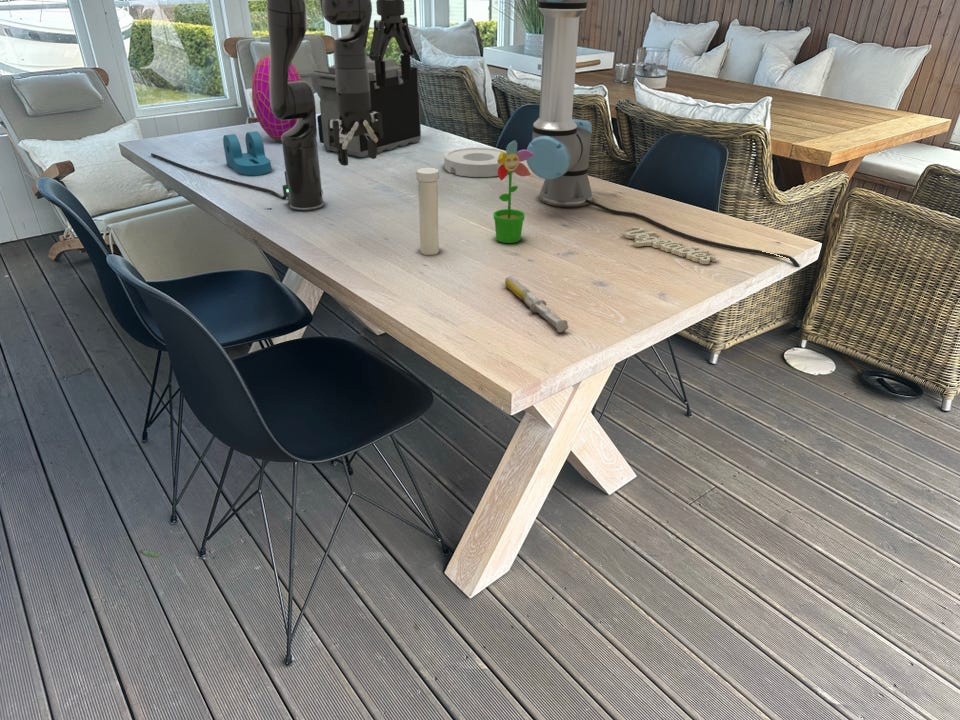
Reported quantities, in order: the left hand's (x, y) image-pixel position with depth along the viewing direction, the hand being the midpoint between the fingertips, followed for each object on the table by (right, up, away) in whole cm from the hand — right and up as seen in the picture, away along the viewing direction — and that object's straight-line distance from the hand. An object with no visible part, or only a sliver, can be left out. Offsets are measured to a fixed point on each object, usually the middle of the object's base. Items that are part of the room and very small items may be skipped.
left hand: (358, 161), depth 162 cm
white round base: (+28, +18, +71) cm, 79 cm away
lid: (+17, -4, -5) cm, 18 cm away
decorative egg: (-47, +38, +103) cm, 119 cm away
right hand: (+4, +32, +33) cm, 46 cm away
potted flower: (+36, -16, +13) cm, 42 cm away
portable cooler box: (-12, +34, +96) cm, 103 cm away
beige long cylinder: (+17, -21, +5) cm, 27 cm away
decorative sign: (+75, -19, +9) cm, 78 cm away
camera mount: (-48, +17, +67) cm, 84 cm away
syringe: (+40, -36, -21) cm, 58 cm away
